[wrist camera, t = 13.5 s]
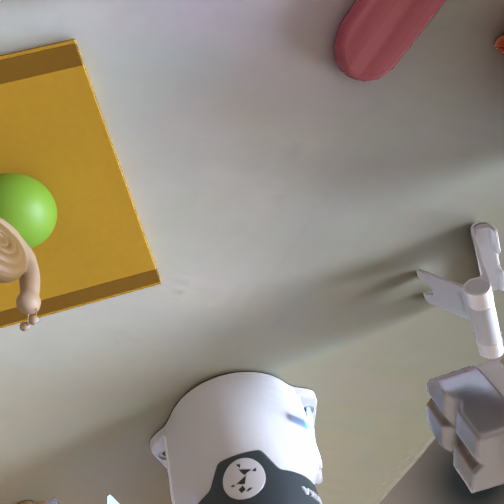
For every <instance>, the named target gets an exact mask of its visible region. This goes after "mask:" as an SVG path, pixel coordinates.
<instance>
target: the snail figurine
mask: <svg viewBox="0 0 504 504" xmlns="http://www.w3.org/2000/svg"><path fill="white" fill-rule="evenodd" d="M56 220H57V207H56V203H55V200H54V198H53V196H52V194H51V193H50V191H49V190H48V189H47V188H46V187H45V186H44V185H43V184H42V183H41V182H39V181H38V180H36V179H34V178H32V177H30V176H27V175H24V174H20V173H3V174H0V283H10V282H13V281H15V280H17V279H18V278H19V284H20V294H19V295H18V297H17V299H16V305H17V308H18V309H19V310H20V311H21V312H22V313H24V314H27V321H26V322H22V323H21V324H20V329H21V330H22V331H26V330H28V329H29V328H30V324H31V325H35V324H37V323H38V321H39V318H38V317H37V312H38V311H39V309H40V305H41V300H40V297H39V292H40V273H39V267H38V263H37V260H36V257H35V254H34V253H33V251H32V248H35V247H37V246H38V245H40V244H42V243H43V242H44V241H45V240H46V239H47V238H48V237H49V236H50V234H51V233H52V231H53V229H54V227H55V224H56ZM34 313H36V314H35V315H33V316H31V317H30V318H29V315H30V314H34ZM28 318H29V323H30V324H29V323H28Z"/></svg>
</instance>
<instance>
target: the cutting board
mask: <svg viewBox="0 0 504 504" xmlns="http://www.w3.org/2000/svg"><path fill="white" fill-rule="evenodd" d="M3 173H20V174H24V175H27V176H30V177H32V178H34V179H36V180H38V181H39V182H41V183H42V184H43V185H44V186H45V187H46V188H47V189H48V190H49V191H50V193H51V194H52V196H53V198H54V200H55V203H56V207H57V220H56V224H55V227H54V229H53V231H52V233H51V234H50V236H49V237H48V238H47V239H46V240H45V241H44V242H43V243H42V244H40V245H38V246H37V247H35V248H32V251H33V253H34V254H35V257H36V260H37V263H38V267H39V273H40V292H39V297H40V300H41V305H40V309H39V311H38V312H37V317H38V318H39V317H42V316H46V315H50V314H53V313H57V312H60V311H64V310H68V309H71V308H75V307H78V306H82V305H86V304H89V303H93V302H96V301H100V300H104V299H107V298H111V297H115V296H118V295H122V294H125V293H129V292H133V291H136V290H140V289H143V288H147V287H151V286H154V285H158V284H161V280H160V278H159V275H158V272H157V269H156V266H155V263H154V261H153V258H152V255H151V252H150V249H149V247H148V244H147V241H146V238H145V235H144V232H143V230H142V227H141V224H140V221H139V218H138V216H137V213H136V210H135V207H134V204H133V201H132V199H131V196H130V193H129V190H128V187H127V185H126V182H125V179H124V176H123V173H122V170H121V168H120V165H119V162H118V159H117V156H116V154H115V151H114V148H113V145H112V142H111V139H110V137H109V134H108V131H107V128H106V125H105V123H104V120H103V117H102V114H101V111H100V108H99V106H98V103H97V100H96V97H95V94H94V92H93V89H92V86H91V83H90V80H89V77H88V75H87V72H86V69H85V66H84V63H83V61H82V58H81V55H80V52H79V49H78V47H77V44H76V41H75V39H72V40H68V41H64V42H59V43H55V44H50V45H46V46H42V47H37V48H33V49H28V50H24V51H19V52H15V53H11V54H6V55H2V56H0V174H3ZM19 294H20V284H19V278H18V279H17V280H15V281H13V282H10V283H0V328H3V327H6V326H10V325H13V324H17V323H21V322H24V321H27V314H24V313H22V312H21V311H20V310H19V309H18V308H17V305H16V299H17V297H18V295H19ZM35 314H36V313H34V314H30V315H29V318H30V317H31V316H33V315H35ZM29 318H28V320H29Z"/></svg>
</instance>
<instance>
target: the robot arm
mask: <svg viewBox="0 0 504 504" xmlns="http://www.w3.org/2000/svg"><path fill="white" fill-rule="evenodd" d="M427 392H428V394H429V395H430V396H431V399H430V401H429V402H428V403H427V405H426V409H427V418H428V421H429V425H430V428H431V430H432V432H433V434H434V436H435V438H436V439H437V441H438V442H439V444H440V445H441V447H443V448H445V449H447V450H448V451H450V452H452V453H454V462H453V465H454V467H455V468H456V470H457V471H458V473H459V474H460V476H461V477H462V478H463V480H464V482H465V483H466V485H467V486H468V488H469V489H470V491H471V492H472V493H474V492H478V491H481V490H484V489H487V488H491V487H494V486H498V485H501V484H504V366H503V365H502V364H501V363H500V362H498V361H496V360H489V361H486V362H483V363H480V364H477V365H474V366H469V367H465V368H462V369H459V370H456V371H453V372H450V373H447V374H444V375H441V376H438V377H435V378H432V379H430V380H429V381H428V383H427ZM316 405H317V400H316V396H315V393H314V392H313V391H312V390H309V389H305V388H298V387H292V386H290V385H288V384H286V383H285V382H283V381H281V380H280V379H278V378H276V377H273V376H271V375H268V374H264V373H257V372H237V373H231V374H226V375H222V376H219V377H216V378H213V379H210V380H208V381H206V382H204V383H202V384H200V385H198V386H197V387H195V388H194V389H192V390H191V391H190V392H188V393H187V394H186V395H185V396H184V397H183V398H182V399H181V400H180V401H179V402H178V403H177V405H176V406H175V408H174V409H173V411H172V413H171V415H170V418H169V420H168V422H167V423H166V425H165V426H164V427H163V428H162V429H161V430H160V431H158V432H157V433H156V434H155V435H154V436H153V437H152V439H151V440H150V448H151V452H152V453H153V455H154V456H155V457H156V458H157V459H158V460H159V461H160V462H161V463H162V465H163V466H164V467H165V468H166V469H167V470H168V477H169V485H170V493H171V500H172V504H322V501H321V499H320V498H319V496H318V493H317V490H316V487H315V485H316V484H321V483H322V481H323V478H322V472H321V469H322V461H321V457H320V454H319V451H318V448H317V445H316V442H315V434H314V422H315V414H316ZM32 504H60V503H59V502H58V501H57V499H56V498H55V497H53V498H49V499H46V500H43V501H39V502H36V503H32ZM107 504H119V503H118V502H117V501H116V500H115V499H114V498H113V497H112V496H111V495H109V496H108V497H107Z"/></svg>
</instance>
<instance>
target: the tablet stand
mask: <svg viewBox="0 0 504 504" xmlns="http://www.w3.org/2000/svg"><path fill="white" fill-rule="evenodd" d="M470 229H471V238H472V242H473V243H474V248H475V252H476V257H477V261H478V266H479V271H480V275H481V276H479V277H476V278H472V279H469V280H468V281H466V282H465V284H464V285H461V284H458V283H456V282H453V281H450V280H448V279H445V278H442V277H440V276H437V275H434V274H432V273H429V272H426V271H423V270H421V269H419V270H417V276H418V279H419V280H421V281H424V282H426V283H427V284H429V285H430V287H431V290H432V293H433V294H431V293H428V292H423V295H424V298H425V300H426V301H427V302H428V303H430V304H432V305H435V306H437V307H439V308H442V309H444V310H446V311H449V312H451V313H453V314H456V315H458V316H460V317H463V318H465V319H467V320H469V321H471V322H472V326H473V330H474V334H475V338H476V342H477V346H478V350H479V353H480V355H481V356H483V357H484V358H487V359H496V358H498V357H500V356H501V355H502V354H503V351H504V349H503V344H504V343H503V338H502V334H501V332H500V329H499V324H498V319H497V314H496V309H495V304H494V299H493V295H494V293H493V291H495V290H501V291H502V292H503V293H504V270H503V269H502V268H501V267H500V263H499V257H498V254H499V253H501V249H500V244H499V238H498V232H497V228H496V227H495V226H494V225H493V224H492V223H491V222H489V221H478V222H475V223H474V224H473V225H472V226H471V228H470Z"/></svg>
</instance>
